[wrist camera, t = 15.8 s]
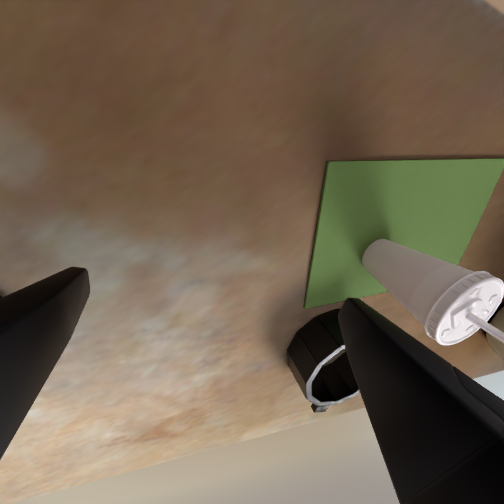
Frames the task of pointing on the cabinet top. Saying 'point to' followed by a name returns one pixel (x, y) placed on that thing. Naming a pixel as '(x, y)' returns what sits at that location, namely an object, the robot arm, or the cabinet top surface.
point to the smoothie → (436, 291)
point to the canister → (500, 321)
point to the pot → (315, 355)
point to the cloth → (393, 217)
